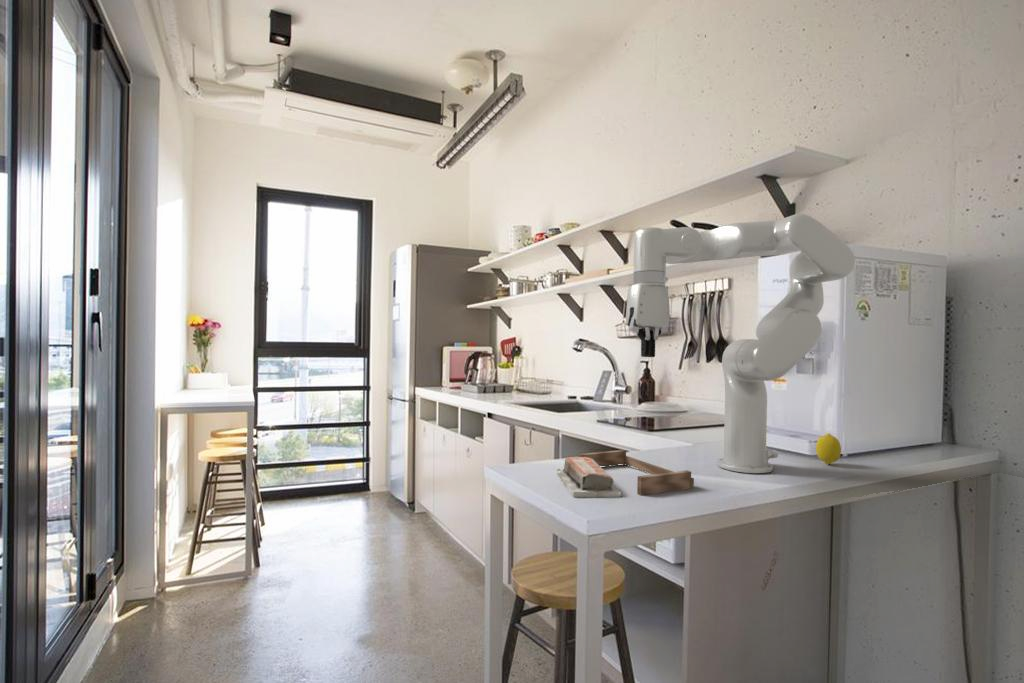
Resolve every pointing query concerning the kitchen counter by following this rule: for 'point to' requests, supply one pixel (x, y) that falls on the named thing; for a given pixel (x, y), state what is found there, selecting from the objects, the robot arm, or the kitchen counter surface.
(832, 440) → the lemon
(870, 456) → the kitchen counter surface
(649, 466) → the wooden rolling pin rack
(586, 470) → the packaged product
